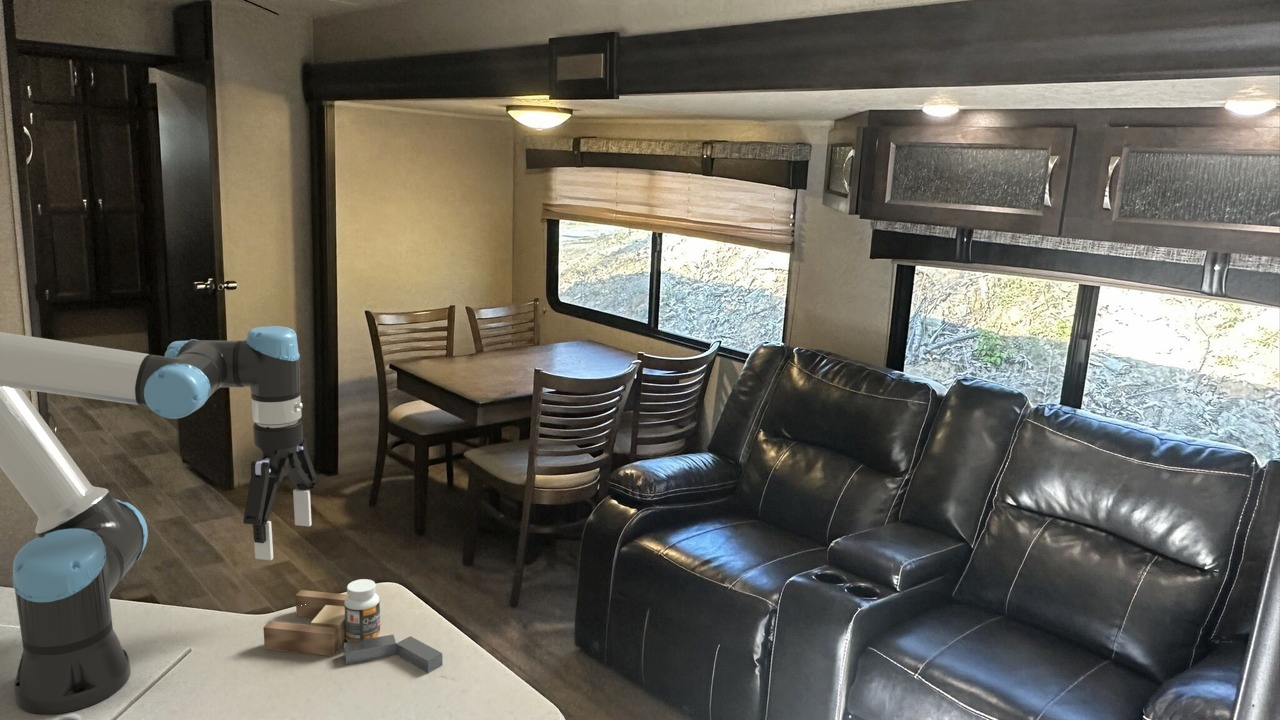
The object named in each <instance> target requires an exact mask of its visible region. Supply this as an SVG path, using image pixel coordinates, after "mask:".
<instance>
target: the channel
mask: <svg viewBox="0 0 1280 720" xmlns="http://www.w3.org/2000/svg"><path fill="white" fill-rule="evenodd" d="M347 597H348V594H347V593H334V592H327V591H326V592H324V591H315V590H306V589H300V590H299V591H298V592H297V593H296V594H295V608H296V609H295V613H296V616H297V617H307V618H315V617H316V616H317V615H318V614H319V612H320V611H321V610H322V609H323V608H324V607H325V605H333V606H344V603H345V599H346V598H347ZM305 604H306V605H305ZM301 605H302V606H301ZM262 628H263V639H264V640H263V642H264V649H265V650H272V651H273V650H274V651H282V652H292V653H299V654H300V653H301V654H311V655H319V656H328V657H334V656H335V655H336V654H337V653H338V651H339V646H340V645H339V643H338V628H331V627H322V626H312V625H311V624H310V625H309V624H302V623H301V624H300V623H291V622H290V623H289V622H279V621H270V620H269V621H267V623H266V624H265V625H264V626H263V627H262Z"/></svg>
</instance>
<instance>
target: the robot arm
mask: <svg viewBox="0 0 1280 720" xmlns="http://www.w3.org/2000/svg"><path fill="white" fill-rule="evenodd" d="M298 345H299V343H298V337H297V333H296V331H295V330H294V329H292V328H290V327H287V326H283V325H282V326H281V325H267V326H258V327H253V328H251V329H249V330H248V332H247V336H246V339H243V340H209V339H208V340H207V339H206V340H204V339H203V340H202V339H201V340H199V339H195V338H194V339H192V338H191V339H190V340H176V341H173V342H171V343H170V344H169V345H168V346H167V348H166V349H167V350H166V351H165V353H164V356H162V355H157V354H156V355H155V354H149V353H143V352H139V351H131V350H130V351H129V350H124V349H117V348H112V347H111V348H110V347H103V346H97V345H90V344H82V343H78V342H77V343H76V342H70V341H64V340H56V339H51V338H50V339H49V338H44V337H37V336H30V335H22V334H18V333H17V334H16V333H11V332H10V333H9V332H4V331H0V469H1V470H2V472H3V473H4V475H6V477H7V478H8V479H9V481H10V482H11V483H12V485H13V486H14V487H15V489H16V490H17V492H19V494H20V495H21V496H22V497H23V499H24V500H25V502H26V504H27V505H28V506H29V507H30V508H31V509H32V511H33V512H34V514H35V516H37V522H36V526H35V530H34V532H35V533H36V535H37V536H38V537H36V538H34V539H31V540H30V541H29V542H27V543H26V544H25V545H23V546H22V547H21V548H20V549H19V550H18V552H17V553H16V555H15V556H14V558H13V562H12V573H13V574H12V577H11V580H12V585H13V587H12V588H13V589H14V593H15V600H16V607H17V614H18V622H19V629H20V635H21V636H20V637H21V641H22V642H21V643H22V652H21V653H22V654H21V657H20V660H19V664H18V665H19V666H18V668H17V672H16V677H15V680H14V684H13V690H14V698H15V703H16V704H17V706H18V707H19V708H21V709H22V710H24V711H27V712H29V713H31V714H32V713H33V714H38V715H39V714H43V715H51V714H61V713H68V712H72V711H77V710H80V709H84V708H87V707H90V706H92V705H95V704H97V703H100V702H101V701H104V700H106V699H108V698H109V697H111V696H113V695H114V694H115V693H117V692H118V691H119V690H121V689H122V688H123V687H124V686H125V684H127V682H128V680H129V679H130V676H131V673H132V672H131V662H130V657H129V654H128V652H126V650H125V649H124V648H123V647H122V644H121V641H120V639H119V638H118V636H117V634H116V632H115V629H114V626H113V617H112V607H111V598H110V597H111V593H112V591H114V589H115V588H116V587H117V585H118V584H119V583H120V582H121V580H123V578H124V577H125V576H126V574H127V573H128V572H129V571H130V570H132V569H133V567H134V566H135V565H136V564H137V563H138V561H139V560H140V558H141V556H142V554H143V552H144V549H145V548H146V545H147V542H148V537H149V536H148V534H149V531H148V525H147V522H146V520H145V516H143V514H142V513H141V511H140V510H138V508H136V507H135V506H134V505H132V504H131V503H129V502H127V501H125V502H124V501H121V500H120V499H117V498H116V499H115V497H114V496H113V495H112V493H111V492H110V491H109V490H108V489H107V488H104V487H98V486H94V485H92V483H90V481H89V480H88V478H87V476H85V474H84V473H83V472H82V470H81V469H80V468H79V466H78V465H77V464H76V463H77V462H75V461H74V460H73V458H72V457H71V455H70V454H69V452H68V451H67V450H66V448H65V446H64V445H63V444H62V442H61V441H60V440H59V439H58V437H57V436H56V435H55V433H54V432H53V431H52V429H51V428H50V426H49V425H48V424H47V422H46V421H45V419H43V416H42V415H41V413H39V411H38V410H37V409H36V407H35V406H34V404H33V403H32V402H31V400H30V399H29V398H28V396H27V394H26V393H25V392H24V391H31V392H32V391H33V392H40V393H47V394H54V395H61V396H62V395H63V396H71V397H78V398H84V399H91V400H101V401H106V402H114V403H121V404H129V405H136V406H137V405H138V406H144V407H148V408H149V409H150V410H151V411H152V412H154V413H155V414H156V415H158V416H160V417H162V418H165V419H169V420H170V419H171V420H173V419H182V418H185V417H188V416H189V415H191V414H192V413H195V411H197V410H199V409H200V408H202V407H203V406H204V405H205V403H206V402H207V401H208V399H209V398H210V397H211V396H212V395H213V394H214V393H216V391H217V390H219V389H220V388H247V387H248V388H250V399H251V418H252V421H253V422H254V423H253V426H252V430H253V431H252V432H253V442H254V446H256V447H257V448H258V449H260V450H261V452H262V456H261V460H260V461H256V460H252V461H251V463H250V480H249V486H248V490H247V498H246V503H245V507H244V515H243V524H244V525H252V531H253V533H252V534H253V544H254V546H253V547H254V559H255V560H265V561H272V560H273V559H274V546H273V530H272V521H271V520H269V519H270V518H269V517H270V514H271V511H272V506H273V503H274V500H275V497H276V493H277V489H278V486H279V485H280V484H282V483H283V480H284V478H285V476H286V475H287V477H288V478H289V479H290V480H291V482H292V483H293V485H294V486H295V489H293V490H292V494H293V511H294V512H293V513H294V525H295V526H302V527H311V526H312V525H313V524H312V507H311V506H312V504H311V490H315V489H316V488H317V483H316V480H317V474H316V472H315V469H314V465H313V463H312V460H311V458H310V455H309V454H310V453H309V451H308V448H307V439H306V437H304V431H303V421H302V420H301V419H302V409H303V403H302V398H301V376H300V373H301V372H300V370H301V369H300V355H301V354H300V352H299V347H298ZM23 390H24V391H23Z"/></svg>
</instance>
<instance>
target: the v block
mask: <svg viewBox="0 0 1280 720" xmlns="http://www.w3.org/2000/svg"><path fill="white" fill-rule="evenodd" d="M343 650H344V653H343V654H344V659H345V660H344V661H345V664H346V665H350V664H351V665H352V664H357V663H360V662H368V661H373V660H377V659H384V658H389V657H390V658H391V657H394V656H395V657H399V658H401V659H402V660H404V661H406V662H407V663H409V664H411V665H413V666H414V667H417V668H418V669H420V670H422V671H424V672H426V673H427V674H429V673H431V672H432V671H435V670H436V669H438V668H440V667H442V666H443V662H444V661H443V652H441V651H439V650H437V649H436V648H434V647H431V646H430V645H428V644H427V643H424V642H422V641H420V640H419V639H416V638H415V637H413V636H411V635H410V636H408V637H406V638H404V639H402V640H400V641H398V642H397V641H396V639H395V635H394V634H388V635H383V636H381V635H380V636H379V637H375V638H370V639H364V640H358V641H352V642H348V641H347V642H343Z"/></svg>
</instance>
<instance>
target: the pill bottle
mask: <svg viewBox="0 0 1280 720" xmlns="http://www.w3.org/2000/svg"><path fill="white" fill-rule="evenodd" d="M376 586H377V585H376V582H375V581H374V580H372V579H366V578H363V579H362V578H361V579H356V580H353V581H351V582H349V583H348V584H347V587H346V594H347V595H348V597H347V598H346V599H345V603H344V607H345V632H346V639H345V640H346V641H347V642H352V641H358V640H364V639H370V638H375V637H381V608H380V602H381V601H380V597H379V595H378V593H376V590H377V587H376Z"/></svg>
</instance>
